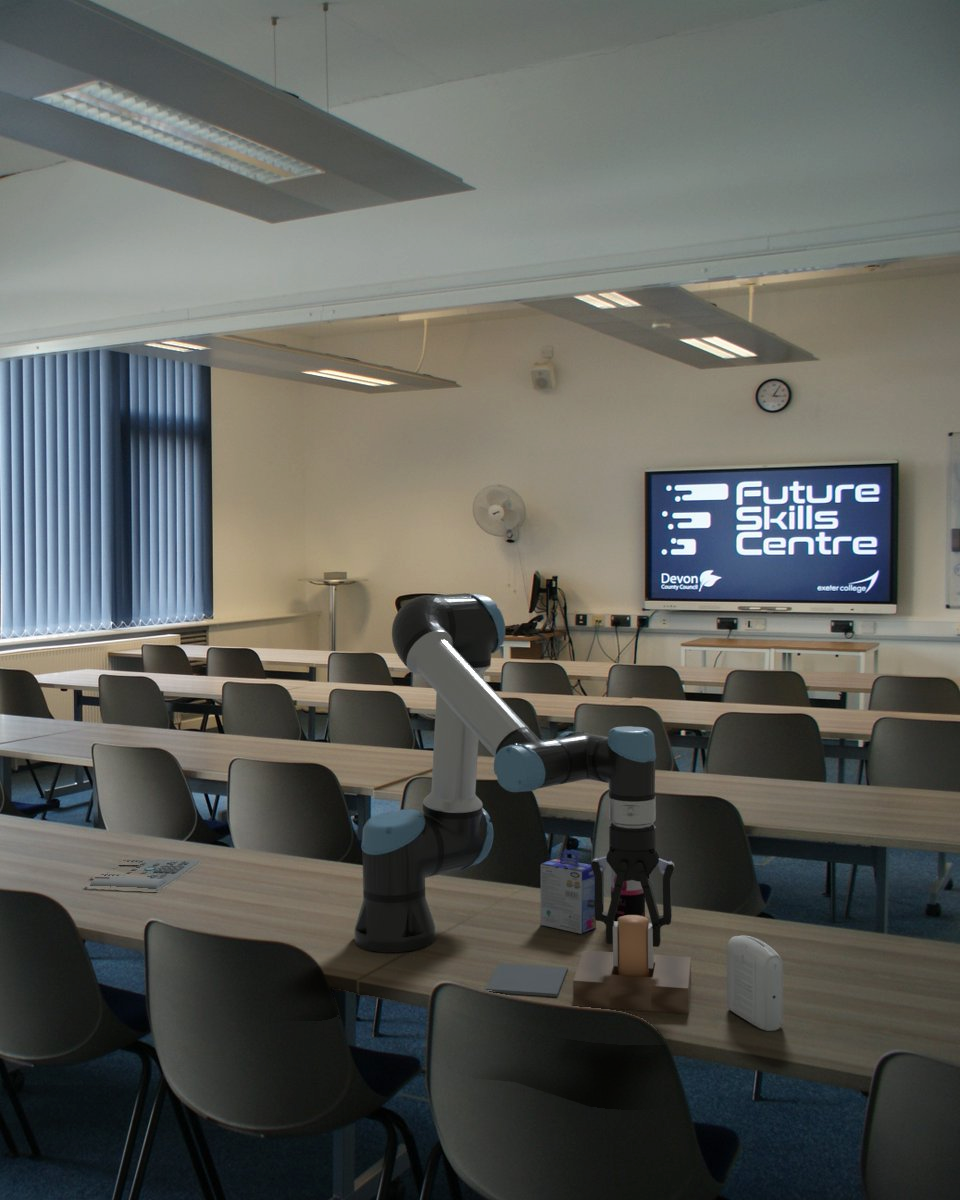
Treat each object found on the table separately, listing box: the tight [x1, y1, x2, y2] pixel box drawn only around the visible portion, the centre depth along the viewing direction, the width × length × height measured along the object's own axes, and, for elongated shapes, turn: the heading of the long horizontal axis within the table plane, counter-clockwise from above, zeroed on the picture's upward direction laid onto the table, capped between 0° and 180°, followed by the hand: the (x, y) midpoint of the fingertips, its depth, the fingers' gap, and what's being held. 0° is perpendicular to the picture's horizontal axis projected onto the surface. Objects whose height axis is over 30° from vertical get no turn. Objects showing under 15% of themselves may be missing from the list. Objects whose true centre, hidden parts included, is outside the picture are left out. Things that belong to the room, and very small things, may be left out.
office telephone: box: [90, 859, 201, 891], centre depth 257 cm, size 23×3×20 cm
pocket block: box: [572, 950, 692, 1015], centre depth 185 cm, size 18×14×4 cm
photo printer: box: [726, 934, 784, 1032], centre depth 174 cm, size 10×4×12 cm, turn 24°
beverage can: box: [610, 867, 646, 921], centre depth 220 cm, size 6×6×15 cm
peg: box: [618, 915, 650, 977], centre depth 184 cm, size 5×5×12 cm
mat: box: [484, 962, 569, 998], centre depth 190 cm, size 12×12×1 cm
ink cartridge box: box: [539, 849, 597, 935], centre depth 218 cm, size 10×6×14 cm, turn 53°
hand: (633, 964), depth 185 cm, fingers closed on peg, 5 cm apart
